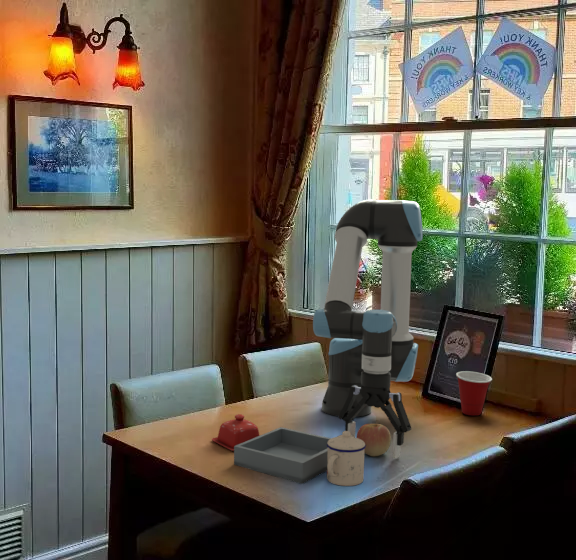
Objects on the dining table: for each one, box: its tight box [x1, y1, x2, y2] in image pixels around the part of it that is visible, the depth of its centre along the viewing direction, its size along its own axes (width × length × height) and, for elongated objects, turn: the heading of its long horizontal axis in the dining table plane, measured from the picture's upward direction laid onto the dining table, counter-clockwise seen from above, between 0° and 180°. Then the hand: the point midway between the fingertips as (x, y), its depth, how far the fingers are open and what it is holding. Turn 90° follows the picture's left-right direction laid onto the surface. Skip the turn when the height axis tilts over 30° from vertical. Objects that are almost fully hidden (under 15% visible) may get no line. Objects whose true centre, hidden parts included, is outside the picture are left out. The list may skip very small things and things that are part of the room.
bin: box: [233, 426, 332, 485], centre depth 203 cm, size 20×20×5 cm
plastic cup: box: [455, 370, 493, 416], centre depth 251 cm, size 11×11×12 cm
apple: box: [356, 423, 392, 457], centre depth 211 cm, size 9×9×8 cm
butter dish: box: [211, 413, 260, 452], centre depth 216 cm, size 12×12×8 cm
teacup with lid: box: [326, 430, 366, 487], centre depth 190 cm, size 12×9×12 cm
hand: (373, 451), depth 211 cm, fingers open, 12 cm apart
